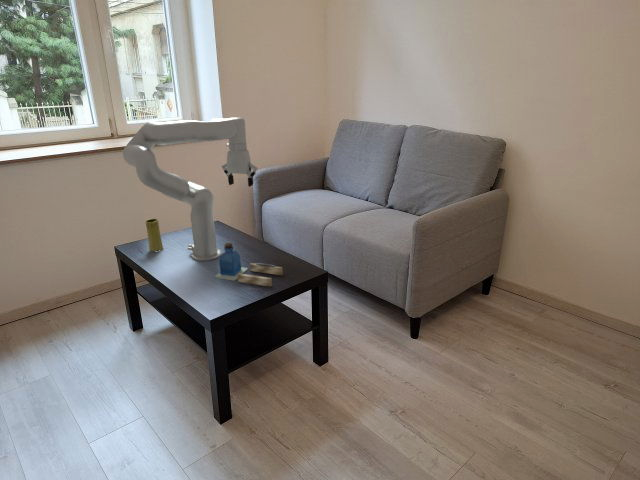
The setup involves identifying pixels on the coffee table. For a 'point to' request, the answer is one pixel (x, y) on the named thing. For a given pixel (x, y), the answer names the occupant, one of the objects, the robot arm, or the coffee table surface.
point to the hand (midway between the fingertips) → (241, 185)
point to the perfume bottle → (229, 261)
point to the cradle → (257, 279)
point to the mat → (231, 276)
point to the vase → (154, 235)
